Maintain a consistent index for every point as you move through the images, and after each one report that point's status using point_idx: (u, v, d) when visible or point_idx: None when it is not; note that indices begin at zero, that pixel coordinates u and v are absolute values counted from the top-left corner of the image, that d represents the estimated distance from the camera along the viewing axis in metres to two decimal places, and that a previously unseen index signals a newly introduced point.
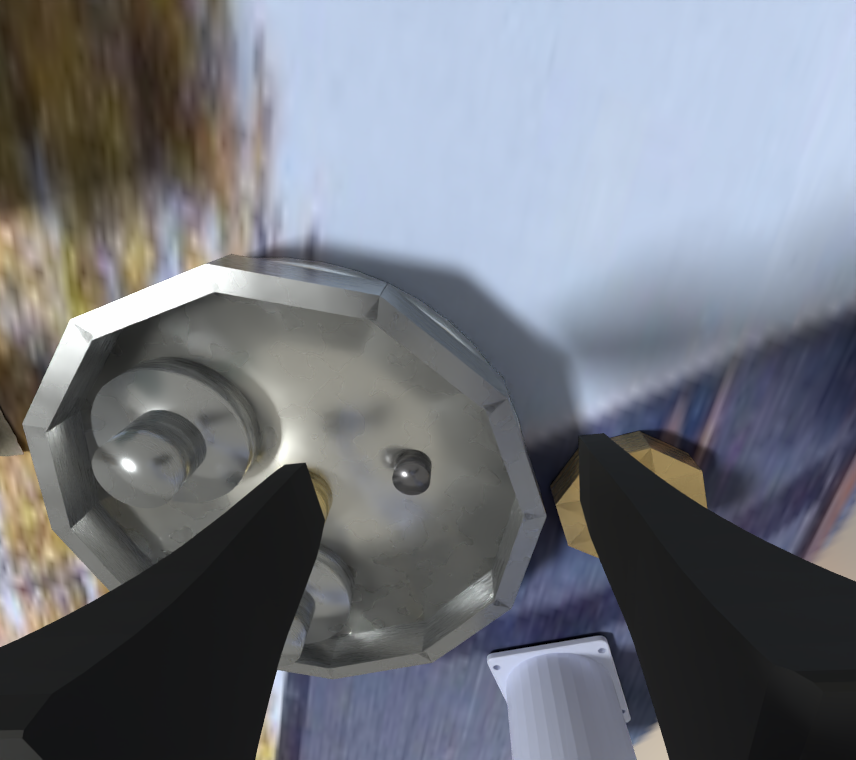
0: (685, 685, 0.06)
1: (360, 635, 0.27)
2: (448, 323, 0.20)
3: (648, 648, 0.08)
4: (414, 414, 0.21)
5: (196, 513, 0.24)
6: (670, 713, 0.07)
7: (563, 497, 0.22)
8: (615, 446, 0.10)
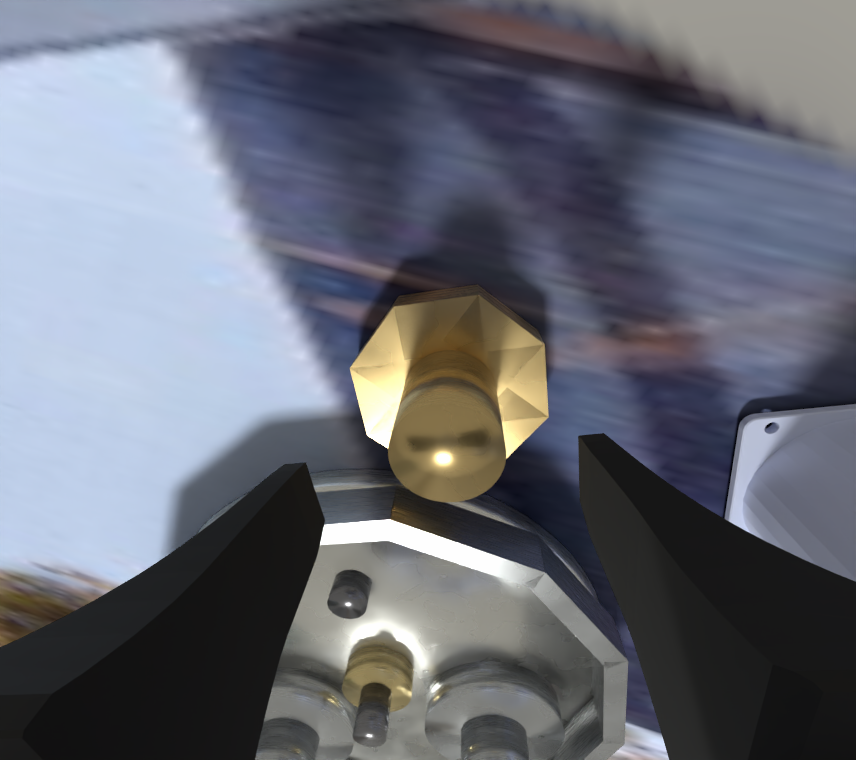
0: (685, 685, 0.06)
1: (593, 682, 0.23)
2: (219, 512, 0.21)
3: (648, 648, 0.08)
4: None
5: (392, 732, 0.26)
6: (670, 713, 0.07)
7: None
8: (615, 446, 0.10)
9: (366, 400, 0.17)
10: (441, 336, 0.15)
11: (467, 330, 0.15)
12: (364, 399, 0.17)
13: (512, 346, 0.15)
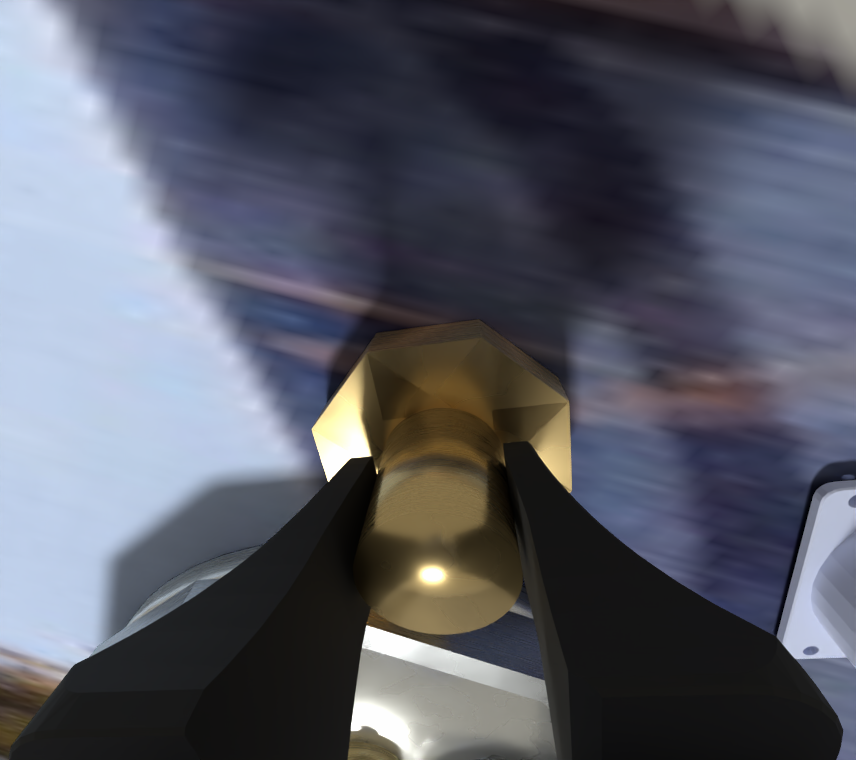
0: (553, 689, 0.06)
1: None
2: (163, 588, 0.17)
3: (542, 652, 0.08)
4: None
5: None
6: (553, 715, 0.07)
7: None
8: (531, 455, 0.10)
9: (334, 468, 0.13)
10: (431, 389, 0.11)
11: (465, 383, 0.11)
12: (332, 467, 0.13)
13: (526, 404, 0.11)
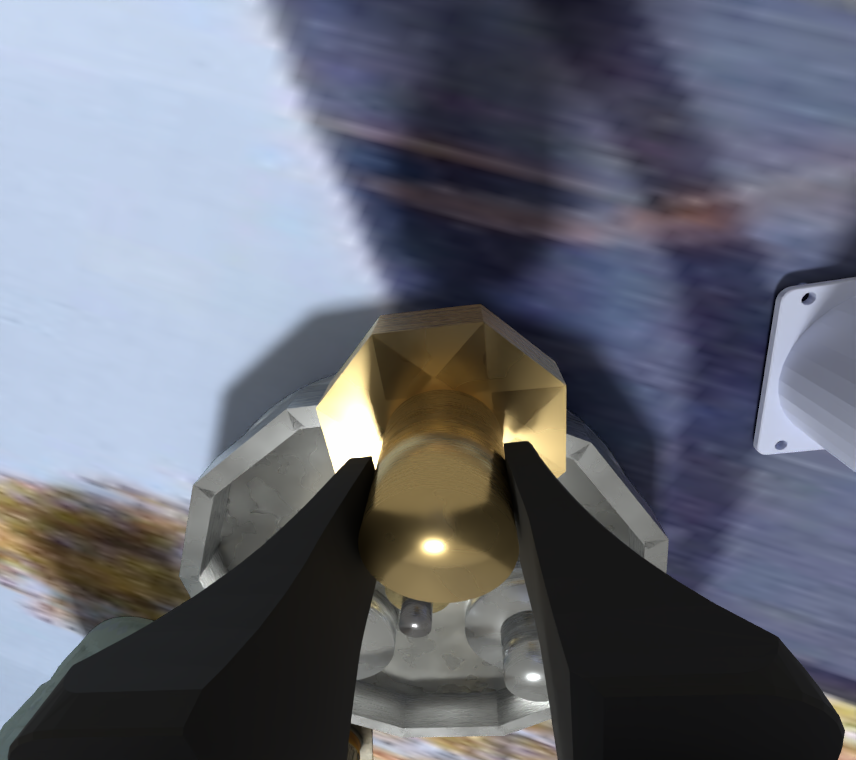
0: (554, 689, 0.06)
1: None
2: (266, 412, 0.22)
3: (543, 652, 0.08)
4: None
5: (429, 644, 0.27)
6: (554, 715, 0.07)
7: None
8: (531, 454, 0.10)
9: (337, 446, 0.13)
10: (433, 372, 0.12)
11: (466, 366, 0.12)
12: (335, 445, 0.13)
13: (524, 387, 0.12)
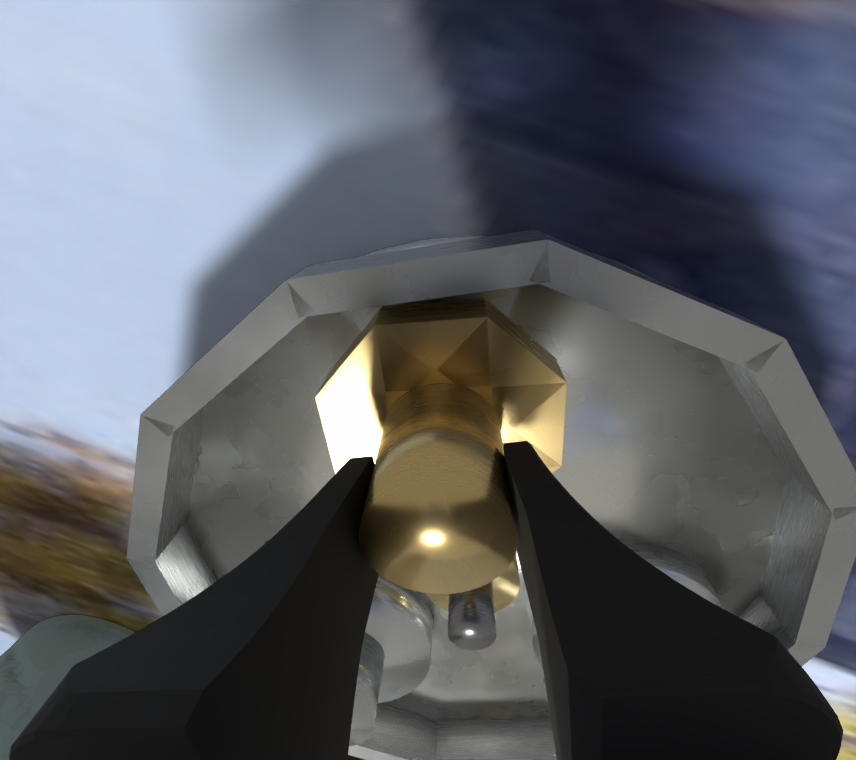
0: (553, 689, 0.06)
1: (770, 569, 0.16)
2: None
3: (542, 652, 0.08)
4: None
5: (473, 656, 0.20)
6: (553, 715, 0.07)
7: None
8: (530, 454, 0.10)
9: (335, 436, 0.13)
10: (435, 365, 0.12)
11: (468, 360, 0.12)
12: (333, 435, 0.13)
13: (525, 382, 0.12)
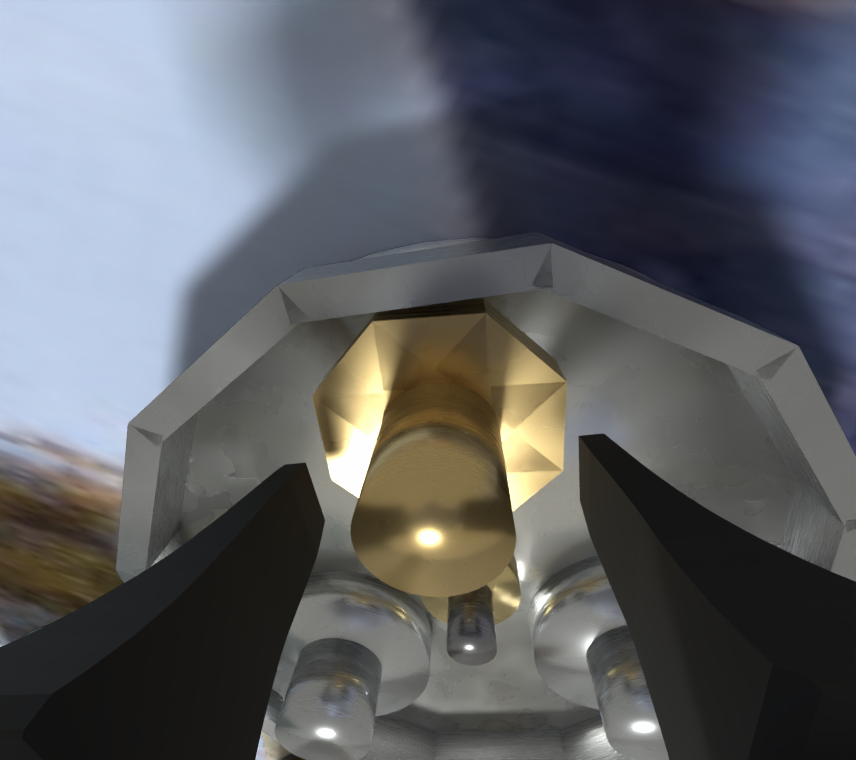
0: (685, 685, 0.06)
1: None
2: None
3: (648, 648, 0.08)
4: None
5: (473, 667, 0.20)
6: (670, 713, 0.07)
7: None
8: (615, 447, 0.10)
9: (332, 437, 0.13)
10: (433, 363, 0.12)
11: (467, 358, 0.12)
12: (329, 436, 0.13)
13: (524, 381, 0.12)
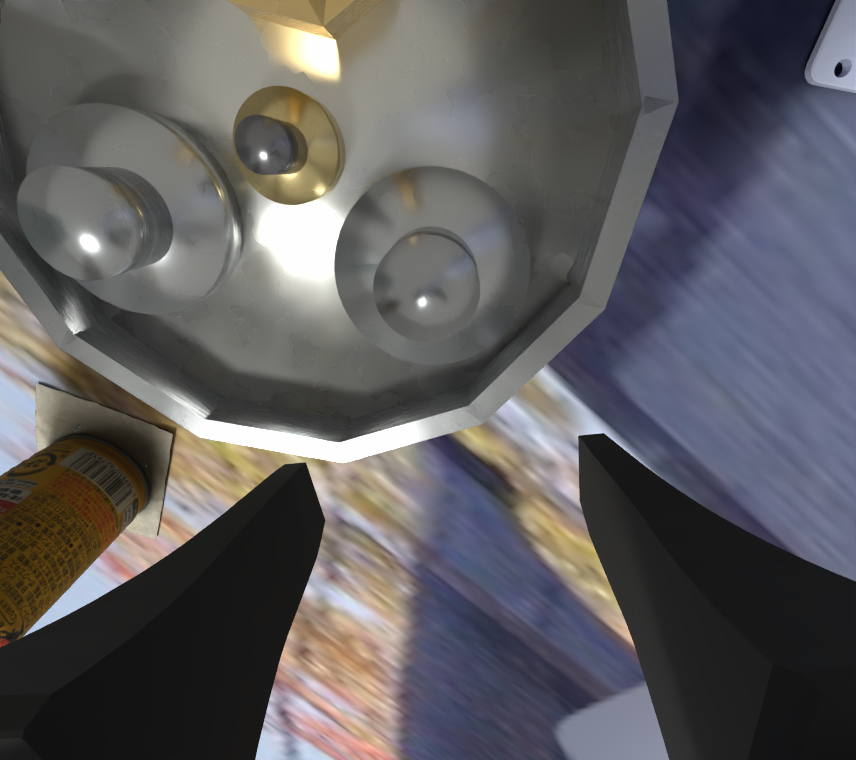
0: (685, 685, 0.06)
1: (581, 242, 0.17)
2: None
3: (648, 648, 0.08)
4: None
5: (278, 307, 0.19)
6: (670, 713, 0.07)
7: None
8: (615, 446, 0.10)
9: None
10: None
11: None
12: None
13: None
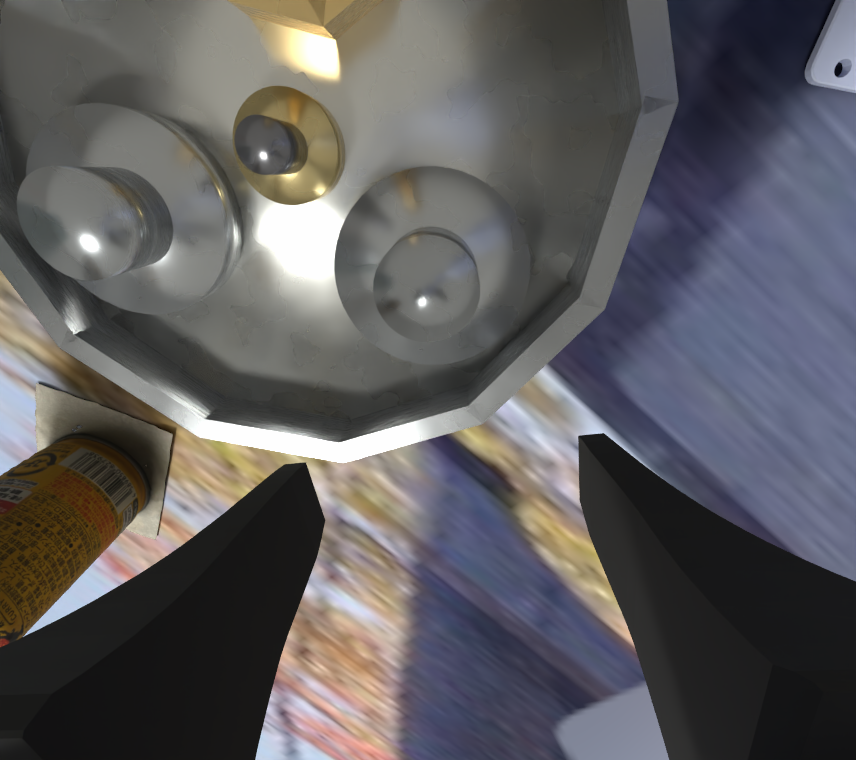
0: (685, 685, 0.06)
1: (581, 242, 0.17)
2: None
3: (648, 648, 0.08)
4: None
5: (278, 307, 0.19)
6: (670, 713, 0.07)
7: None
8: (615, 446, 0.10)
9: None
10: None
11: None
12: None
13: None
